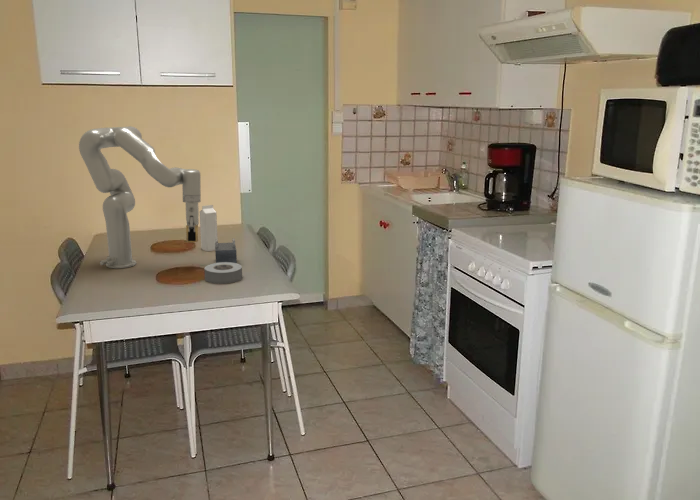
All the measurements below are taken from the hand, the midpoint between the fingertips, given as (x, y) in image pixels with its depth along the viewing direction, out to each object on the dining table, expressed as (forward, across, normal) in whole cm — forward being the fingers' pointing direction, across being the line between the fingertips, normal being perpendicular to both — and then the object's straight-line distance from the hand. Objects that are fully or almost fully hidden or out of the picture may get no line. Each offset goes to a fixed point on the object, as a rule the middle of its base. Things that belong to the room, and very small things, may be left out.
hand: (192, 238), depth 263 cm
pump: (+1, 0, 0) cm, 1 cm away
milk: (+13, +30, -8) cm, 34 cm away
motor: (+12, +4, -15) cm, 20 cm away
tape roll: (+12, -20, -13) cm, 27 cm away
